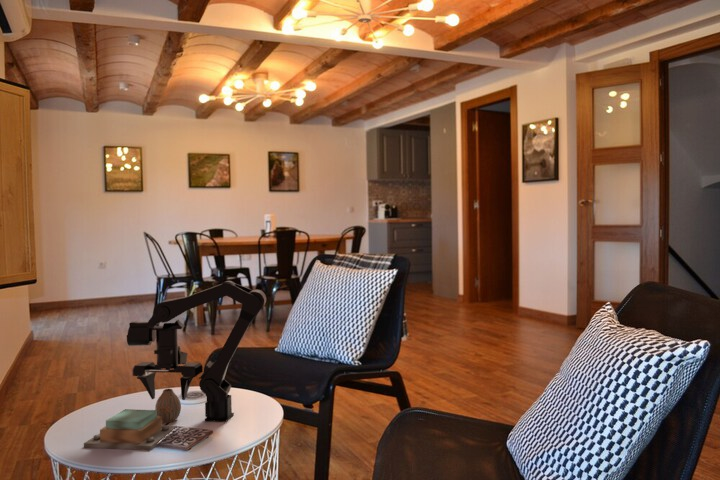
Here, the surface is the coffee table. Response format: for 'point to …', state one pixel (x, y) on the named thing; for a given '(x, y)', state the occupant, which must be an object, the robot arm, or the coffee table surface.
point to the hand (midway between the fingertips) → (168, 399)
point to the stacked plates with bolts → (131, 431)
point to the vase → (168, 406)
